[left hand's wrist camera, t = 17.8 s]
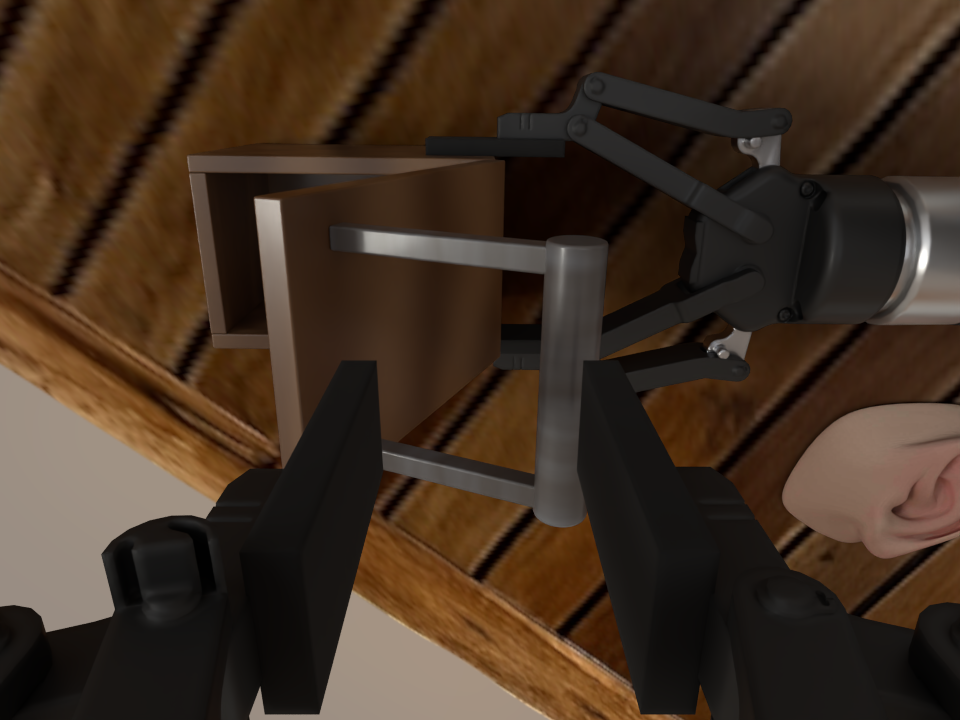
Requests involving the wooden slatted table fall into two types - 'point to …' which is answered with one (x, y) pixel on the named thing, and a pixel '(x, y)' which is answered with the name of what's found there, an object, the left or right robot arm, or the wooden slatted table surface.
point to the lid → (427, 316)
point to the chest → (232, 222)
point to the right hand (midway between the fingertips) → (429, 246)
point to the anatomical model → (882, 478)
